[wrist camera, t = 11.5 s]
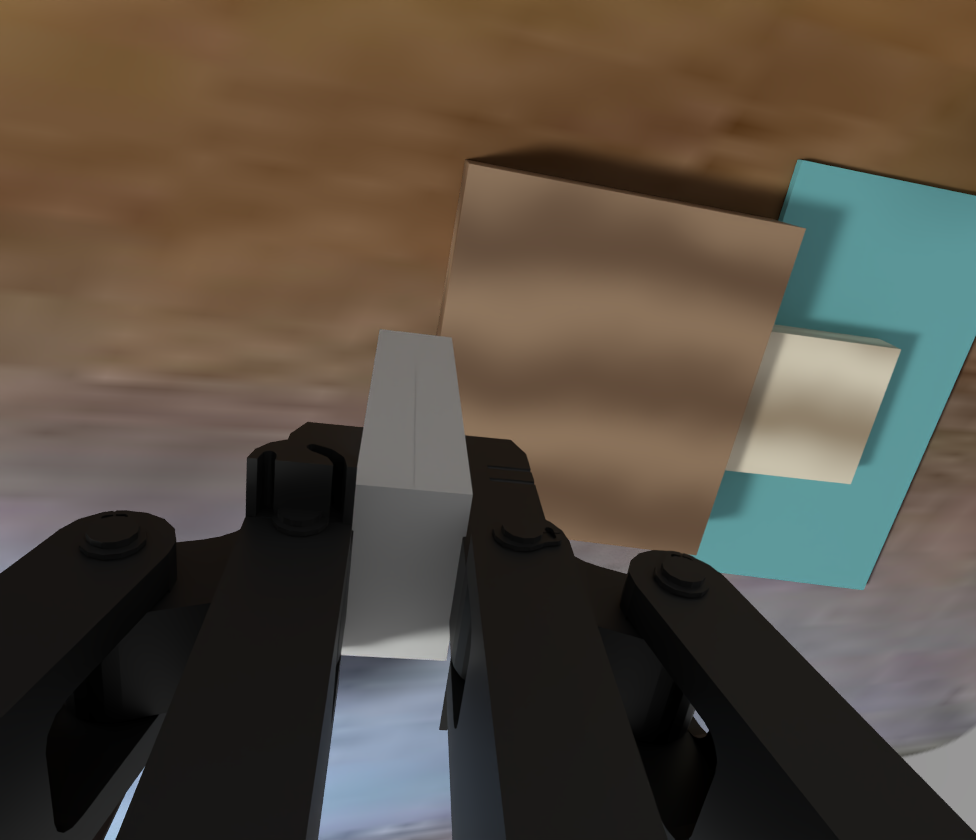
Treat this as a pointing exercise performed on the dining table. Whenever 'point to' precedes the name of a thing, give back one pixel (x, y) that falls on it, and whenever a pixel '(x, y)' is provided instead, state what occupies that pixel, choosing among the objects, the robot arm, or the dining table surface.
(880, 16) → the dining table surface
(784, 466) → the birch tile
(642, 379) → the walnut board
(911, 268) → the teal mat
